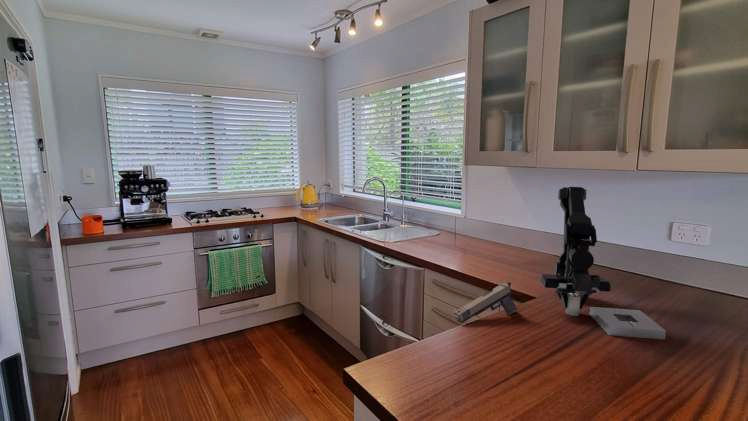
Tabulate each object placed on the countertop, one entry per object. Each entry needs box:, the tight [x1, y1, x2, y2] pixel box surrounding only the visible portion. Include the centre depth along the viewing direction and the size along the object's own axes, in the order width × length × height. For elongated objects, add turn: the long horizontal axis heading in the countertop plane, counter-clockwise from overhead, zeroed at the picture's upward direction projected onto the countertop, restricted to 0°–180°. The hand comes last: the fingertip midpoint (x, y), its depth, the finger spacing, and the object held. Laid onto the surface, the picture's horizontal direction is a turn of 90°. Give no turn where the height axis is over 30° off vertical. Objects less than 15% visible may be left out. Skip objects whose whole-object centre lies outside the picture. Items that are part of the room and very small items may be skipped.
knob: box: [565, 293, 581, 317], centre depth 118 cm, size 4×4×6 cm
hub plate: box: [589, 306, 667, 340], centre depth 110 cm, size 14×14×3 cm
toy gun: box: [454, 281, 519, 324], centre depth 116 cm, size 2×21×10 cm, turn 111°
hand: (572, 308), depth 119 cm, fingers closed on knob, 4 cm apart
